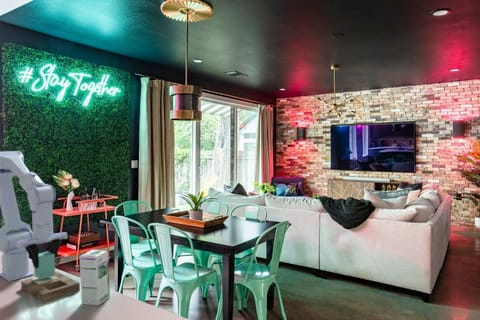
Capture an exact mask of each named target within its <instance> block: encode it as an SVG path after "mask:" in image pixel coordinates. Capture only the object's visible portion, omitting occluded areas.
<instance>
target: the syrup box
mask: <svg viewBox="0 0 480 320" xmlns="http://www.w3.org/2000/svg"><path fill="white" fill-rule="evenodd" d="M109 267H110V266H109V251H108V250H106V249H105V250H104V249H91V250H89V251H87V252H86V253H83V254H81V255H80V256H79V271H80V272H79V275H80V293H81V294H80V295H81V298H80V299H81V304H82V305H88V306H100V305H101V304H102V303H104V302H105V301H107V299H109V298H110V297H111V294H110V293H111V292H110V271H109V269H110V268H109Z"/></svg>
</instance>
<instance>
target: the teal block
mask: <svg viewBox="0 0 480 320" xmlns="http://www.w3.org/2000/svg"><path fill="white" fill-rule="evenodd" d="M38 262H39V263H38V268H35V267H33V270H34V272H33V273H34V278H35V277H37V278H39V279H40V280H41V279H44V278H48V277H51V276H54V275H55V272H56V259H55V254H53V253H51V252H49V251H44V252H41V253H40V252H39V253H38Z"/></svg>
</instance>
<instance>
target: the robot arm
mask: <svg viewBox="0 0 480 320" xmlns="http://www.w3.org/2000/svg"><path fill="white" fill-rule="evenodd" d="M24 157H25V156H24V155H23V153H22V152H21V151H20V150H14V151H12V150H11V151H9V150H8V151H0V210H1V214H2V218H3V223H4V224H3V226H2V227H1V228H0V253H2V256H1V273H0V277H2V278H3V279H4V280H6V281H8V282H12V281H15V280H19V279H23V278H27V277H30V276H35V274H34V272H32V271H31V270H30V259H31V263H32V265H33V268H34V267H35V268H38V263H39V262H38V254H39V253H40V248H39V247H38V245H42V244H45V243H47V244H48V250H49V252H51V253H53V254H55V260H56V259H57V255H58V252H59V250H60V248H61V247H62V244H63V243H62V242H63V241H62V240H66V239H67V240H68V232H65V231H63V232H57V233H56V232H55V233H54V220H53V219H54V218H53V203H54V202H55V201H56V200H57V199H56V197H57V193H56V189H55V187H54V186H53V185H52V184H47V183H45V182H44V181H43V180H41V177H40V176H39V175H37V174H36V173H35V172H33V171H29V169H28V168H27V165H26V164H25V159H24ZM15 176H16V178H18V183H19V185H20V186H21V188H22V189H23V191H25V192H26V194H27V195H26V196H27V201H28V204H29V209H30V211H31V218H32V220H31V221H32V228H31V226H30V224H28V223H26V222H23V221H22V219H21V216H20V215H21V214H20V211H19V206H18V205H19V204H18V202H17V197H16V193H15V188H14V184H13V177H15ZM29 257H30V258H29Z"/></svg>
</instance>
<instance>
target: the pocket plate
mask: <svg viewBox="0 0 480 320" xmlns="http://www.w3.org/2000/svg"><path fill="white" fill-rule="evenodd" d="M20 284H21V285H20V287H21V288H20V289H21V290H22V291H24V292H25V293H26V294H28V295H30V296H31V297H32V298H34V299H35V300H37V301H38V302H40V303H42V304H44V303H47V302H50V301H55V300H57V299H60V298H63V297H65V296H68V295H71V294H75V293H78V292H81V282H78V281H77V280H74V279H73V278H70V277H69V276H66V275H65V274H63V273H60V272H59V271H56V270H55V275H54V276H51V277H48V278H44V279H41V280H40V279H39V278H37V277H35V276H34V277H32V278H28V279H24V280H21V281H20Z"/></svg>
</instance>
